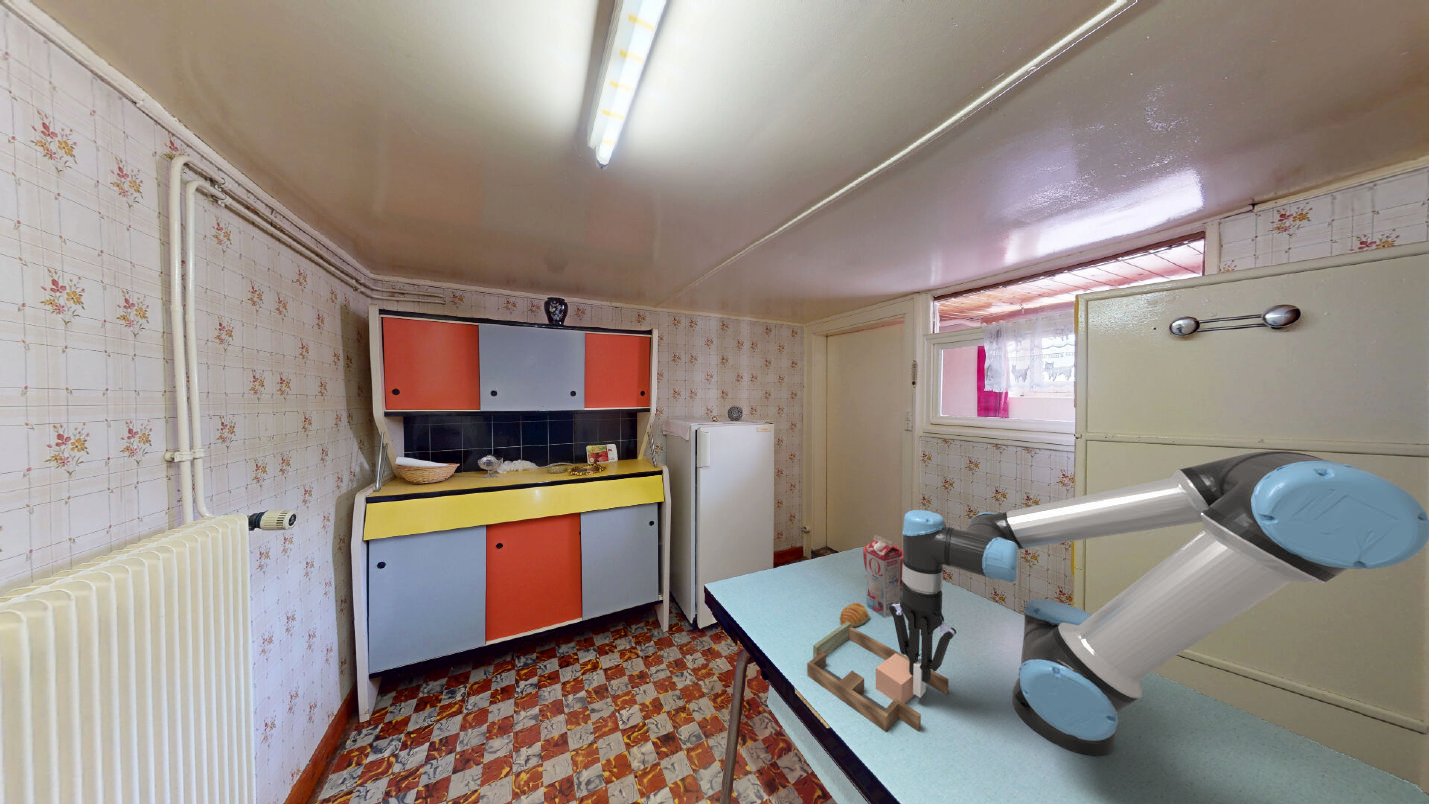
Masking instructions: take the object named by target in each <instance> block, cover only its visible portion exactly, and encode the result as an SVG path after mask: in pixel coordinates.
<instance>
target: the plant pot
mask: <svg viewBox="0 0 1429 804" xmlns="http://www.w3.org/2000/svg"><path fill="white" fill-rule="evenodd" d="M869 544H870V543H868V544H866V545H864V547H863V549H862V550H863V552H862V553H863V554H862V556H863V565H864V569H865V571H866V572H867V546H868V545H869ZM893 548H895V549H898V550H899V551H900V589H902V582H903V580H902V567H903V549H901V548H900V547H898V546H897V545H893ZM865 579H866V580H867V573H866V574H865Z"/></svg>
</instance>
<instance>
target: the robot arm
mask: <svg viewBox="0 0 1429 804" xmlns="http://www.w3.org/2000/svg"><path fill="white" fill-rule="evenodd" d="M1198 523H1202V527H1203V528H1202V530H1201V531H1200V532H1198V533H1197V534H1196V535H1194V536H1193V537H1192V538H1191V539H1189V540H1188V541H1187V542H1185V543H1184V544H1183V545H1181V546H1180V547H1178V548H1177V549H1176V550H1175V551H1174V552H1173V553H1171V554H1170V555H1168V556H1167V557H1166V558H1165V559H1163V560H1162V561H1161V562H1159V563H1158V564H1157V565H1155V566H1154V567H1153V568H1151V569H1150V570H1149V571H1147V572H1146V573H1145V574H1144V575H1142V576H1141V577H1140V578H1138V579H1137V580H1136V581H1134V582H1133V583H1131V585H1129V586H1128V587H1126V589H1124V590H1122V591H1121V592H1120V593H1119V594H1117V595H1116V596H1115V597H1113V598H1112V599H1111V600H1110V601H1108V602H1107V603H1106V604H1105V605H1103V606H1102V607H1101V608H1099V609H1098V610H1097V611H1096V612H1094V613H1093V614H1091V613H1089V612H1087V611H1085V610H1083V609H1082V608H1081V609H1080V608H1078V607H1076V606H1073V605H1069V604H1066V603H1063V602H1059V601H1055V600H1049V599H1042V598H1033V599H1030V600H1027V601H1026V602H1025V604H1024V610H1023V612H1022V613H1023V614H1024V618H1023V619H1024V621H1023V623H1024V624H1023V625H1024V626H1023V627H1024V629H1023V641H1022V650H1021V657H1020V659H1021V661H1020V666H1019V669H1018V678H1017V680H1016V682H1015V684H1014V686H1013V688H1012V705H1013V708H1014V709H1015V712H1016V714H1017V715H1018V716H1019V717H1020V718H1021V720H1022V721H1023V722H1024V723H1025V724H1026V725H1027V726H1029V727H1030V728H1031V729H1032V730H1033V731H1035V732H1036V733H1037V734H1039V735H1040V736H1041V737H1043V738H1045V739H1047V740H1048V741H1050V742H1052V743H1054V744H1056V745H1057V746H1060V747H1062V748H1065V749H1066V750H1069V751H1073V752H1075V753H1078V754H1083V755H1088V756H1104V755H1107V754H1110V753H1111V752H1112V751H1113V750H1114V747H1115V732H1116V730H1117V726H1118V724H1119V716H1118V712H1119V711H1121V710H1122V709H1124V708H1126V707H1128V705H1130V704H1132V703H1133V702H1135V701H1137V700H1138V699H1140V698H1141V697H1142V696H1143V689H1142V684H1141V681H1140V680H1141V679H1143V678H1144V677H1145V676H1147V675H1148V674H1150V673H1152V672H1153V671H1155V670H1156V669H1157V668H1159V667H1161V666H1162V665H1164V664H1166V663H1167V662H1168V661H1170V660H1172V659H1173V658H1175V657H1176V656H1178V655H1179V654H1181V653H1183V652H1184V651H1185V650H1187V649H1189V648H1190V647H1193V646H1194V645H1195V644H1196V643H1199V642H1200V641H1202V640H1203V639H1205V638H1206V637H1208V636H1209V635H1211V634H1212V633H1214V632H1216V631H1217V630H1219V629H1220V628H1222V627H1223V626H1225V625H1226V624H1227V623H1230V622H1231V621H1232V620H1234V619H1235V618H1237V617H1238V616H1240V615H1242V614H1243V613H1245V612H1247V611H1248V610H1250V609H1252V608H1253V607H1254V606H1256V605H1257V604H1259V603H1261V602H1262V601H1264V600H1265V599H1267V598H1268V597H1270V596H1271V595H1274V594H1275V593H1276V592H1278V591H1279V590H1281V589H1282V588H1284V587H1285V586H1287V585H1289V584H1290V583H1294V582H1300V583H1302V582H1303V583H1310V584H1311V583H1312V584H1325V583H1327V582H1329V581H1330V580H1331V579H1333V578H1336V576H1339V575H1341V574H1342V573H1343V572H1345V571H1347V570H1348V569H1353V570H1354V569H1355V570H1356V569H1357V570H1363V569H1367V570H1375V569H1383V568H1388V567H1391V566H1392V567H1393V566H1396V565H1398V564H1402V563H1405V562H1406V561H1408V560H1410V559H1412V558H1413V557H1415V556H1416V555H1418V554H1419V553H1420V552H1421V551H1422V550H1423V549H1424V548H1425V547H1426V545H1427V544H1428V543H1429V517H1428V514H1427V512H1426V511H1425V509H1424V507H1423V506H1422V505H1421V503H1420V502H1419V501H1418V500H1417V499H1416V498H1415V497H1414V496H1413V495H1412V494H1411V493H1409V492H1408V491H1406V490H1405V489H1404V488H1402V487H1401V486H1399V485H1397V484H1395V483H1393V482H1391V481H1390V480H1387V479H1385V478H1383V477H1380V476H1378V475H1376V474H1375V473H1373V472H1372V471H1369V470H1363V469H1361V468H1358V467H1355V466H1353V465H1351V464H1347V463H1342V462H1341V463H1340V462H1335V461H1330V460H1327V459H1323V458H1320V457H1317V456H1314V455H1310V454H1306V453H1301V452H1296V451H1286V450H1268V451H1267V450H1264V451H1263V450H1262V451H1256V452H1249V453H1244V454H1240V455H1236V456H1232V457H1231V456H1230V457H1227V458H1222V459H1219V460H1215V461H1214V460H1213V461H1211V462H1210V461H1209V462H1207V463H1202V464H1196V465H1194V466H1189V467H1185V468H1179V469H1176V470H1175V471H1174V473H1173V474H1172V476H1170V477H1168V478H1163V479H1159V480H1158V479H1157V480H1154V481H1149V482H1144V483H1140V484H1139V483H1138V484H1134V485H1129V486H1124V487H1119V488H1116V489H1115V488H1114V489H1111V490H1109V489H1108V490H1106V491H1100V492H1095V493H1091V494H1086V495H1082V496H1076V497H1071V498H1067V499H1061V500H1057V501H1051V502H1048V503H1042V504H1037V505H1033V506H1027V507H1024V508H1023V507H1022V508H1018V509H1013V510H1009V511H1005V512H998V513H996V512H989V511H985V512H980V513H978V514H976V515H975V516H974V517H972V518H971V519H970V521H969V522H968V525H967V528H966V530H962V529H955V528H954V527H953V528H952V527H949V526H946V523H945V519H944V517H943V516H942V515H941V514H939V513H936V512H933V511H930V510H923V509H921V510H920V509H914V510H913V509H912V510H909V511H908V512H906V513H904V517H903V528H902V529H903V530H902V550H903V567H902V578H901V579H902V581H903V582H902V587H901V600H900V604H898V603H894V604H893V605H892V606H890V607H889V610H890V612H891V614H892V615H891V616H892V618H893V622H894V623H893V624H894V627H895V631H896V637H897V642H898V643H897V644H898V647H899V651H900V652H899V653H901V654H902V655H904V656H906V657H908V658H909V672H910V674H911V675H913V694H915V695H914V696H917V697H918V698H922V696H923V695H924V694H925V692H926V691H927V683H928V682H929V680H930V679H931V670H932V671H934V672H937V670H938V669H939V668H940V667H941V666H942V664H943V662H944V659H945V655H946V652H947V650H948V647H949V644H950V641H951V640H952V639H953V638H954V636H955V635H956V634H957V630H956V629H955V628H954V627H950V626H949V625H948V624H947V623H946V622H945V617H944V615H943V590H942V589H943V579H944V577H943V576H944V573H943V572H944V566H946V567H950V568H955V569H958V570H961V571H965V572H967V573H971V574H975V575H979V576H982V577H984V578H985V577H986V578H988V579H989V580H990V579H991V580H998V581H1002V582H1007V583H1014V582H1015V581H1016V580H1017V578H1018V570H1019V569H1018V568H1019V550H1023V549H1029V548H1037V547H1041V546H1042V547H1043V546H1048V545H1049V546H1050V545H1055V544H1061V543H1069V542H1070V543H1071V542H1077V541H1082V540H1083V541H1084V540H1089V539H1096V538H1097V539H1098V538H1102V537H1103V538H1104V537H1109V536H1110V537H1111V536H1118V535H1124V534H1129V533H1130V534H1131V533H1137V532H1138V533H1139V532H1142V531H1143V532H1144V531H1151V530H1159V529H1165V528H1171V527H1177V526H1179V527H1180V526H1184V525H1192V524H1198ZM905 618H906V619H905ZM906 620H907V622H908V626H907V625H906ZM939 627H940V631H939V634H940V636H941V637H940V638H939V640H938V643H937V645H936V649H935V652H934V653H933V634H934V631H935V630H936V629H938V628H939ZM920 636H921V642H920ZM920 643H921V650H920ZM919 657H920V658H919Z"/></svg>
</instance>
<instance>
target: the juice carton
mask: <svg viewBox="0 0 1429 804" xmlns="http://www.w3.org/2000/svg"><path fill="white" fill-rule="evenodd" d="M873 535H874V536H873V540H872V541H871V542H870V543H868V544H869V545H868V544H867V545H868V546H867V571H866V574H867V579H866V607H867V608H869V609H871V610H872V611H873V612H875V613H876V614H878V615H879V616H881V617H883V618H886V617H890V616H892V614H891V612H890V610H889V607H890V606H892V605H893V604H894V603H898V604H900V602H901V588H900V551H899V550H898V549H895V548H893V541H891V540H889V539H886V538H884V537H882V536H880V535H877V534H875V533H874V534H873Z"/></svg>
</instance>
